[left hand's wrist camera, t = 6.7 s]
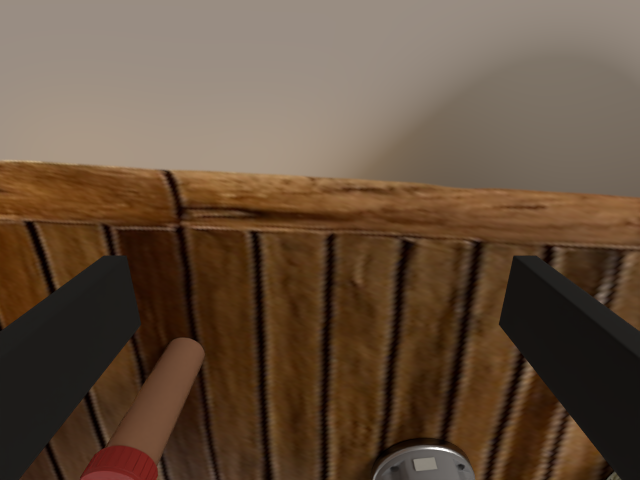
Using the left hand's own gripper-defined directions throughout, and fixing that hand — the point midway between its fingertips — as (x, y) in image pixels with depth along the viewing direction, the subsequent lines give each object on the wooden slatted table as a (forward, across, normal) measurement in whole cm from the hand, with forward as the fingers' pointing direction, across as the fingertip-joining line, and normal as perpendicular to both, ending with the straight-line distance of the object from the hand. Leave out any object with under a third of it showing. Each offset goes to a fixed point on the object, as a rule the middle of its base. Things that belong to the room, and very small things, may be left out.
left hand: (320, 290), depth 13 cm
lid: (+10, +18, +25) cm, 32 cm away
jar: (+28, +18, +25) cm, 41 cm away
